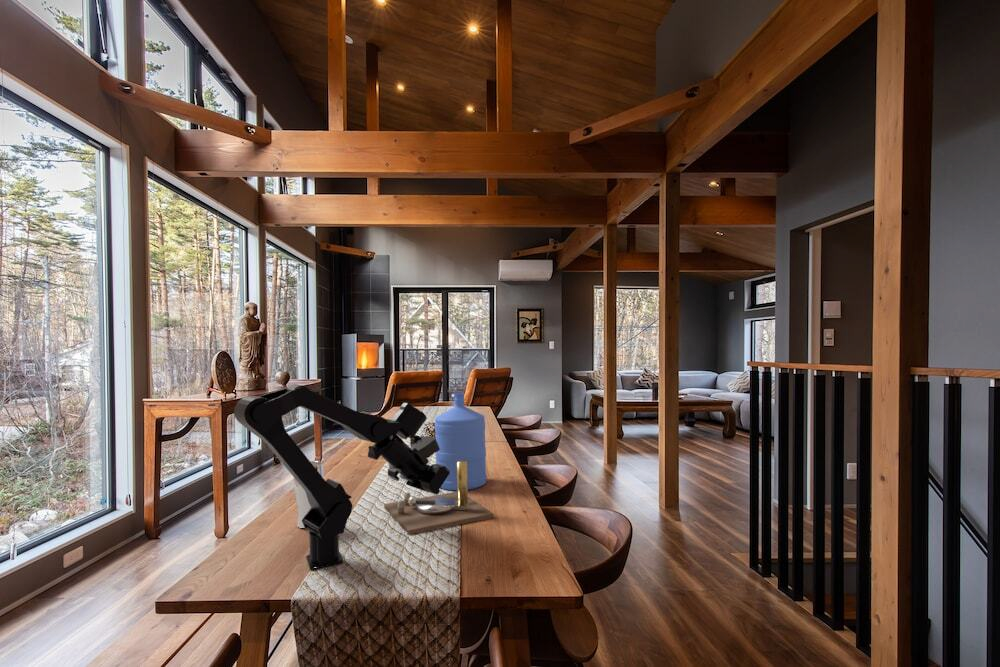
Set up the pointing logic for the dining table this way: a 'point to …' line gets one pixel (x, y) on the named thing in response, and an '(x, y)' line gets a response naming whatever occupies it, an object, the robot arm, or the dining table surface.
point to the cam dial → (445, 503)
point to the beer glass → (304, 495)
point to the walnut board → (423, 522)
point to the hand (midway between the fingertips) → (437, 492)
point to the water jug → (461, 443)
